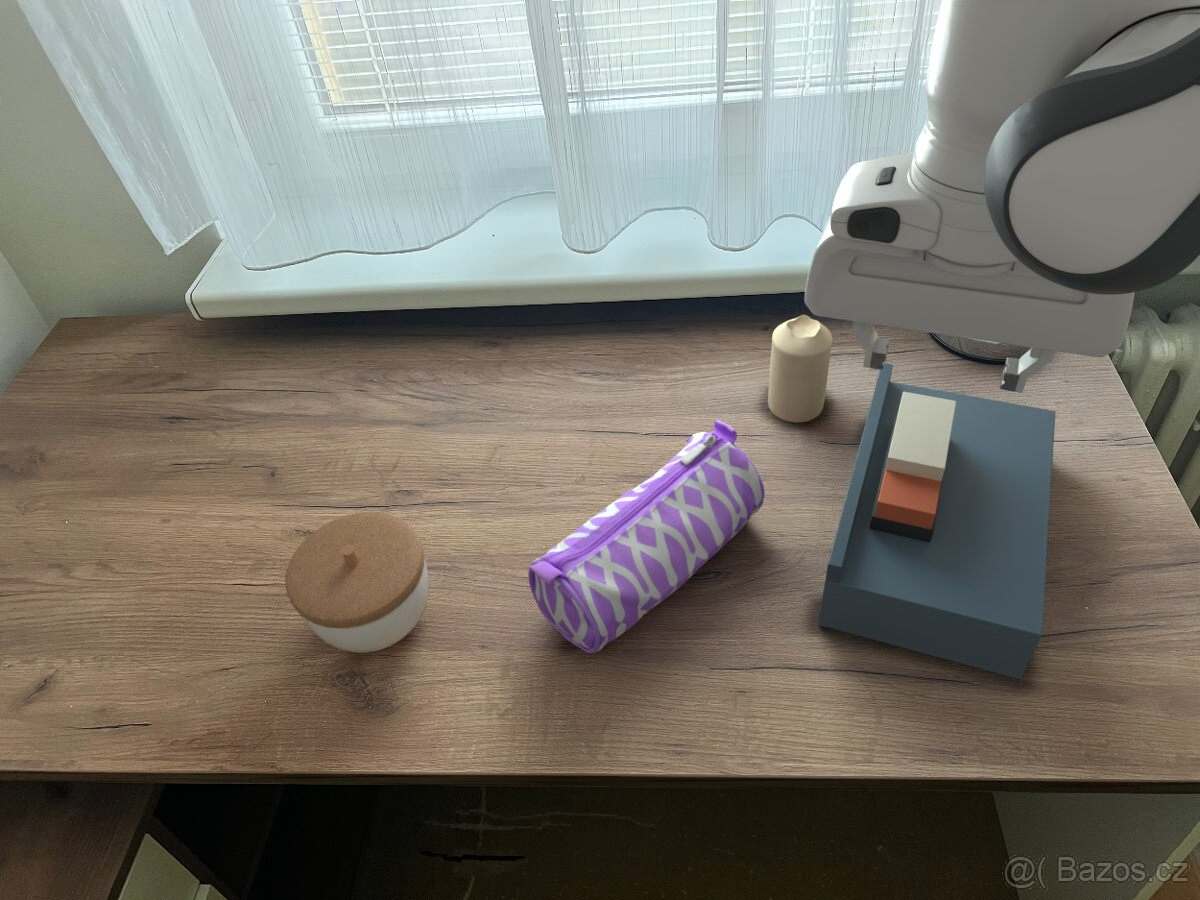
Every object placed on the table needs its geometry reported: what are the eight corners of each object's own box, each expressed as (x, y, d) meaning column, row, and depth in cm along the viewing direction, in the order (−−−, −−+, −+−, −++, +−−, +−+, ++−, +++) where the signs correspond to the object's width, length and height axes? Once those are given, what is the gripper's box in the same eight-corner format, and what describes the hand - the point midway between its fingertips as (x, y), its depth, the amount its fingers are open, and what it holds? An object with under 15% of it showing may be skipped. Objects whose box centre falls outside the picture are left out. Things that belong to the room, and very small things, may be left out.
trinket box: (468, 599, 74) (445, 529, 68) (382, 698, 68) (347, 631, 62) (377, 550, 79) (347, 480, 72) (288, 638, 73) (247, 570, 66)
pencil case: (693, 470, 83) (692, 395, 76) (774, 518, 78) (781, 442, 71) (524, 621, 72) (505, 550, 66) (605, 687, 67) (595, 617, 61)
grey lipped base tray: (1037, 458, 80) (1062, 393, 75) (1020, 680, 65) (1050, 619, 59) (869, 426, 85) (881, 362, 79) (817, 625, 70) (828, 564, 64)
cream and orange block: (892, 427, 76) (901, 386, 73) (948, 438, 75) (959, 397, 71) (869, 528, 69) (877, 488, 65) (930, 543, 67) (942, 502, 64)
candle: (764, 420, 87) (770, 340, 80) (770, 384, 90) (776, 304, 83) (821, 425, 85) (832, 345, 78) (825, 388, 89) (835, 309, 82)
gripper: (1170, 194, 52) (1100, 371, 62) (827, 163, 59) (812, 327, 69) (1175, 250, 48) (1099, 430, 58) (806, 210, 55) (793, 378, 65)
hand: (941, 374), depth 64 cm, fingers open, 8 cm apart
